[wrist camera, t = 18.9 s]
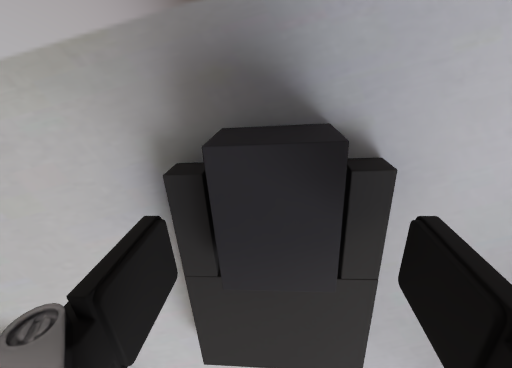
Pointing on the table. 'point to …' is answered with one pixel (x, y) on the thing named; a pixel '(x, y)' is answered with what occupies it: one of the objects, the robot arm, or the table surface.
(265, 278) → the black rectangular block
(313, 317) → the socket pad
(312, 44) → the table surface
